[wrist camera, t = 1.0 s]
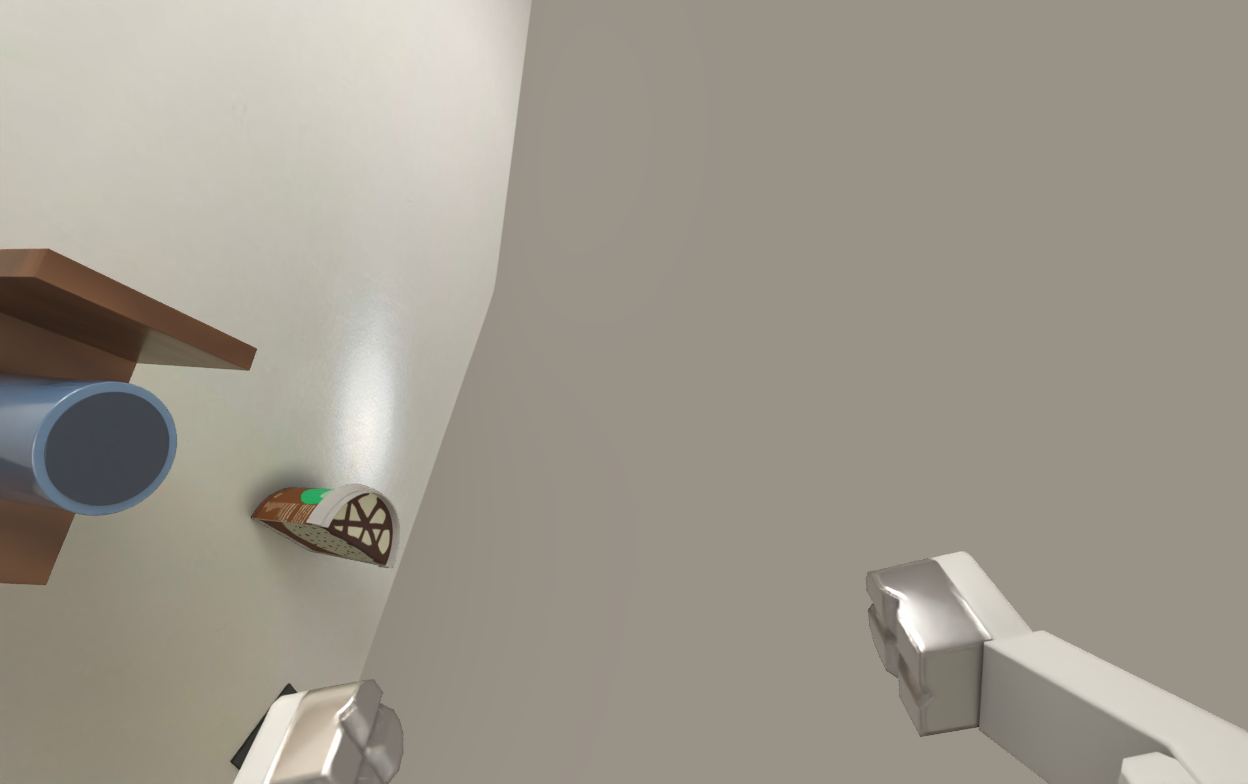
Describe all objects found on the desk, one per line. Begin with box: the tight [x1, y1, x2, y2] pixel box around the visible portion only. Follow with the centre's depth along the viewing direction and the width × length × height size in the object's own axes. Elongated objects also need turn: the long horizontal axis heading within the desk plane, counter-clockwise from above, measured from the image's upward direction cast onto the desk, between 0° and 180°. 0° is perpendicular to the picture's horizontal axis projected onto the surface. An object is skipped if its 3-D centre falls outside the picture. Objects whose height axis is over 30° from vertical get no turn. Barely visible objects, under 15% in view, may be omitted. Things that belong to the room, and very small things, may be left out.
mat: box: [231, 684, 297, 770], centre depth 66 cm, size 8×8×1 cm
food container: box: [251, 484, 400, 568], centre depth 65 cm, size 12×6×10 cm, turn 46°
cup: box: [0, 372, 177, 516], centre depth 34 cm, size 7×7×10 cm
